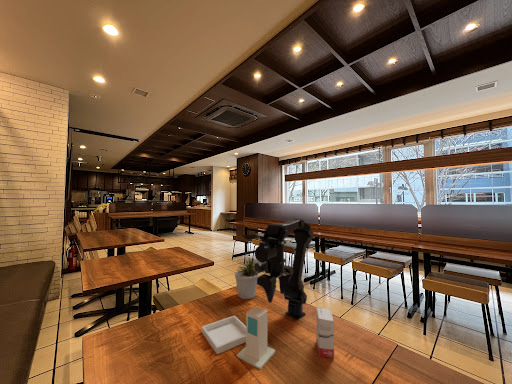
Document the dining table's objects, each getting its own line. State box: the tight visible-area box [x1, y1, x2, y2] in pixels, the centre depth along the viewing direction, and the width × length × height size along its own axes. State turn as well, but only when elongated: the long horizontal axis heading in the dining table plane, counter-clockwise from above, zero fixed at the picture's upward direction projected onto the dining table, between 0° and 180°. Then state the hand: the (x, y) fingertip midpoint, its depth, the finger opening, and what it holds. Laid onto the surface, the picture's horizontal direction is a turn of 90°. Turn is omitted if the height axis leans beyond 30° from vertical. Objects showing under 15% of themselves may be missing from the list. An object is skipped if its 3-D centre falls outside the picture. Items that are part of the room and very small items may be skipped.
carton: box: [245, 305, 269, 360], centre depth 69 cm, size 5×5×13 cm
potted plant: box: [234, 257, 262, 300], centre depth 112 cm, size 13×14×20 cm
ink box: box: [316, 307, 335, 359], centre depth 73 cm, size 9×5×12 cm, turn 168°
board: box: [236, 345, 276, 370], centre depth 69 cm, size 9×9×1 cm
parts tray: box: [201, 315, 246, 355], centre depth 78 cm, size 14×14×2 cm
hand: (276, 297), depth 81 cm, fingers open, 9 cm apart
